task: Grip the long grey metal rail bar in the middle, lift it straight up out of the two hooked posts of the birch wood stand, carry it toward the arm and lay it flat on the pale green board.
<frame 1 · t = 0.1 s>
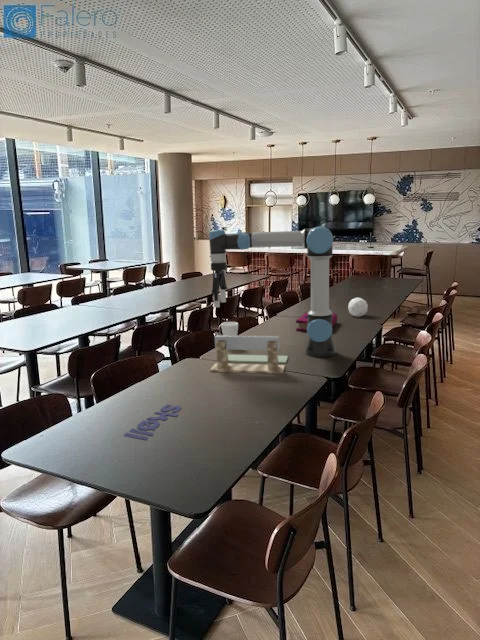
hand: (220, 304, 237), 28 cm above the table, tool pointing down, fingers open, 13 cm apart
foam cup: (230, 346, 266), on the table
rail bar: (247, 348, 222), point 10 cm above the table, touching rail stand
book: (316, 327, 305), on the table
green board: (253, 359, 239), on the table
rail stand: (247, 369, 224), on the table
geodesic sphere: (357, 316, 332), on the table
signage: (157, 422, 170), on the table
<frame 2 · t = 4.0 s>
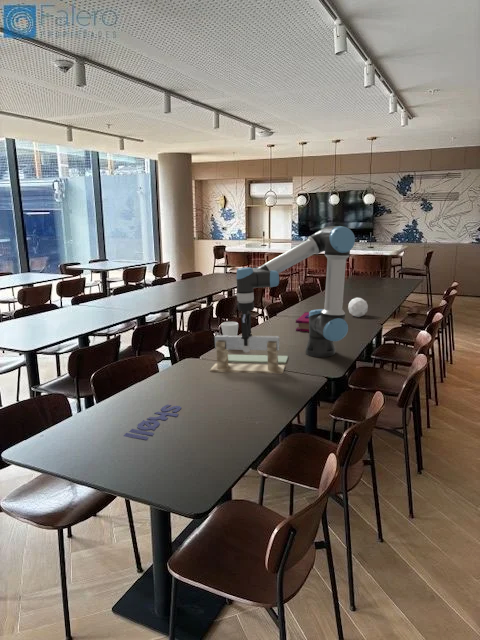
hand: (247, 350, 222), 9 cm above the table, tool pointing down, fingers closed on rail bar, 3 cm apart
rail bar: (247, 348, 222), point 10 cm above the table, touching gripper, rail stand
everything else where it was.
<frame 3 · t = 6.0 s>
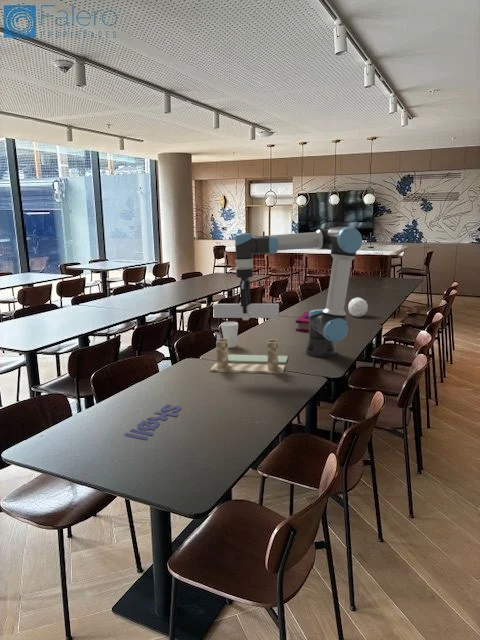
hand: (246, 319, 219), 24 cm above the table, tool pointing down, fingers closed on rail bar, 3 cm apart
rail bar: (246, 317, 219), point 25 cm above the table, touching gripper
everything else where it was.
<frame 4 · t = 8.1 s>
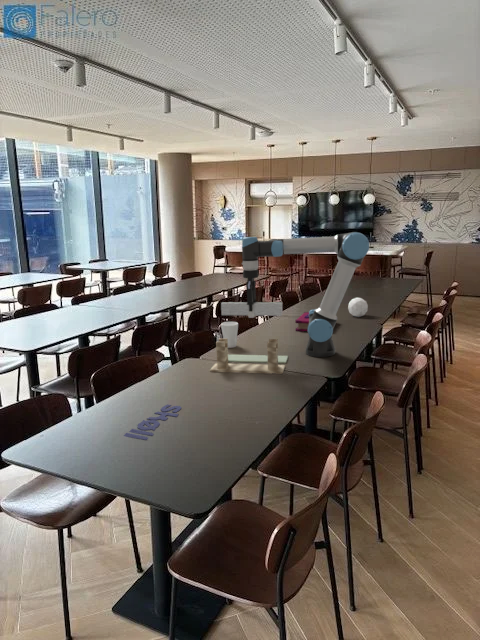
hand: (251, 316, 235), 22 cm above the table, tool pointing down, fingers closed on rail bar, 3 cm apart
rail bar: (251, 314, 234), point 23 cm above the table, touching gripper
everything else where it was.
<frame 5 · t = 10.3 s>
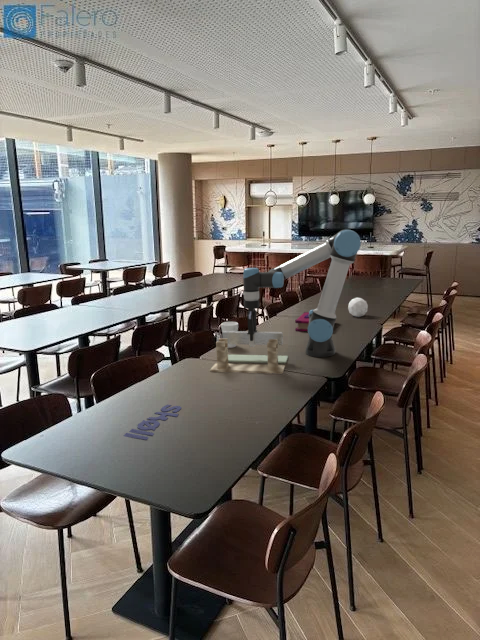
hand: (252, 345, 238), 7 cm above the table, tool pointing down, fingers closed on rail bar, 3 cm apart
rail bar: (252, 343, 238), point 8 cm above the table, touching gripper
everything else where it was.
when the fingers open (2 cm above the table, at t = 12.2 s): rail bar drops 2 cm, resting on green board.
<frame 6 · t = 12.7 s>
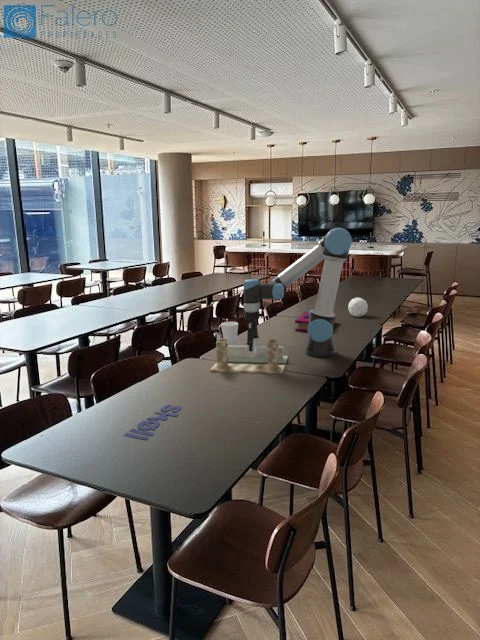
hand: (253, 353, 239), 3 cm above the table, tool pointing down, fingers open, 10 cm apart
rail bar: (253, 357, 239), point 1 cm above the table, touching green board
everything else where it was.
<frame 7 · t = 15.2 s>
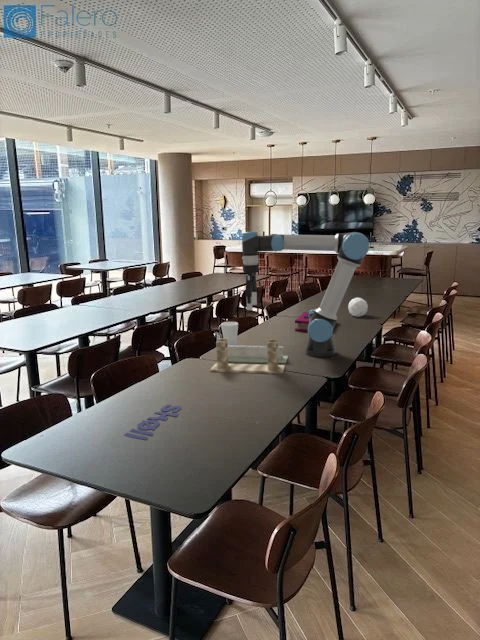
hand: (252, 307, 234), 27 cm above the table, tool pointing down, fingers open, 13 cm apart
nothing on the table moved.
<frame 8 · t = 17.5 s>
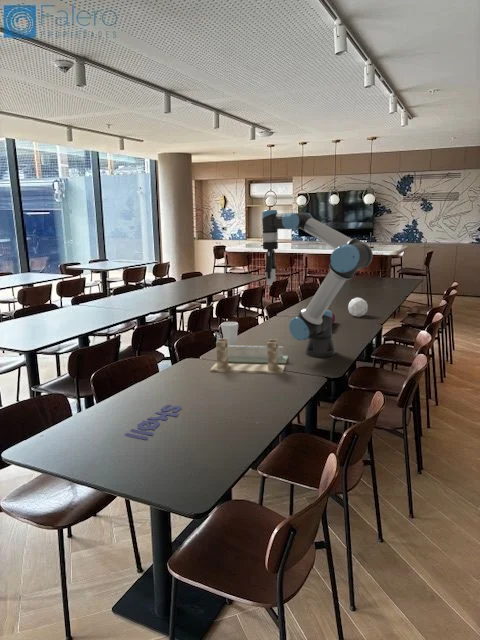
hand: (271, 283, 243), 37 cm above the table, tool pointing down, fingers open, 13 cm apart
at the end: rail bar inside the target area on the green board (0.0 cm from its centre), point 0.8 cm above the green board's base; rail bar tilted 0°; the gripper is holding nothing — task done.
